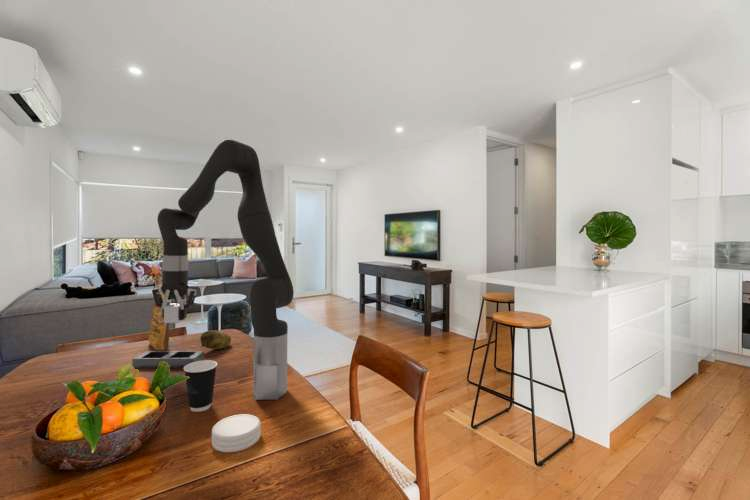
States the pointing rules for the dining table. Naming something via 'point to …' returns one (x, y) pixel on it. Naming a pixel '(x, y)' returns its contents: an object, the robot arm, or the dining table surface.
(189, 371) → the dixie cup
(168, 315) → the nut block
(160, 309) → the pancake mix bag
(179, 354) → the grey compartment tray
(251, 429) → the coaster
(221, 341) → the potato
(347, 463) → the dining table surface
